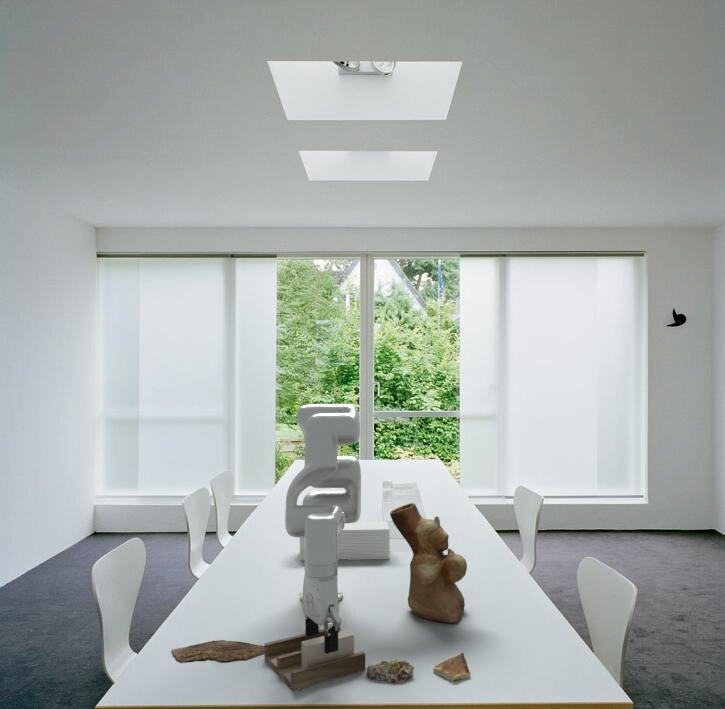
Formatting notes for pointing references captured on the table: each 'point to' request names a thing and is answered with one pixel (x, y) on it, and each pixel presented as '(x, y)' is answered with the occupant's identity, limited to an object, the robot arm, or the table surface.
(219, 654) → the wooden fragment
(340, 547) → the white long block
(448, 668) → the shard
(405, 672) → the mineral rock
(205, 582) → the table surface
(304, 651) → the strip
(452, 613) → the ceramic vessel
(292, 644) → the walnut rack
